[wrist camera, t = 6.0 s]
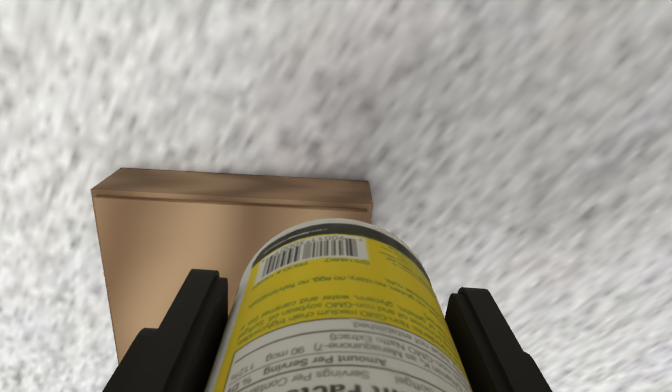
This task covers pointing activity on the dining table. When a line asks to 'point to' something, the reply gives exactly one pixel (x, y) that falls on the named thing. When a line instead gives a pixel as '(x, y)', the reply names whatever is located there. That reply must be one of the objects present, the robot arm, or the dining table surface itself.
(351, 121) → the dining table surface
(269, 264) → the supplement bottle
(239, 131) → the dining table surface
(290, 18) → the dining table surface
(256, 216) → the walnut stand
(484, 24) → the dining table surface
